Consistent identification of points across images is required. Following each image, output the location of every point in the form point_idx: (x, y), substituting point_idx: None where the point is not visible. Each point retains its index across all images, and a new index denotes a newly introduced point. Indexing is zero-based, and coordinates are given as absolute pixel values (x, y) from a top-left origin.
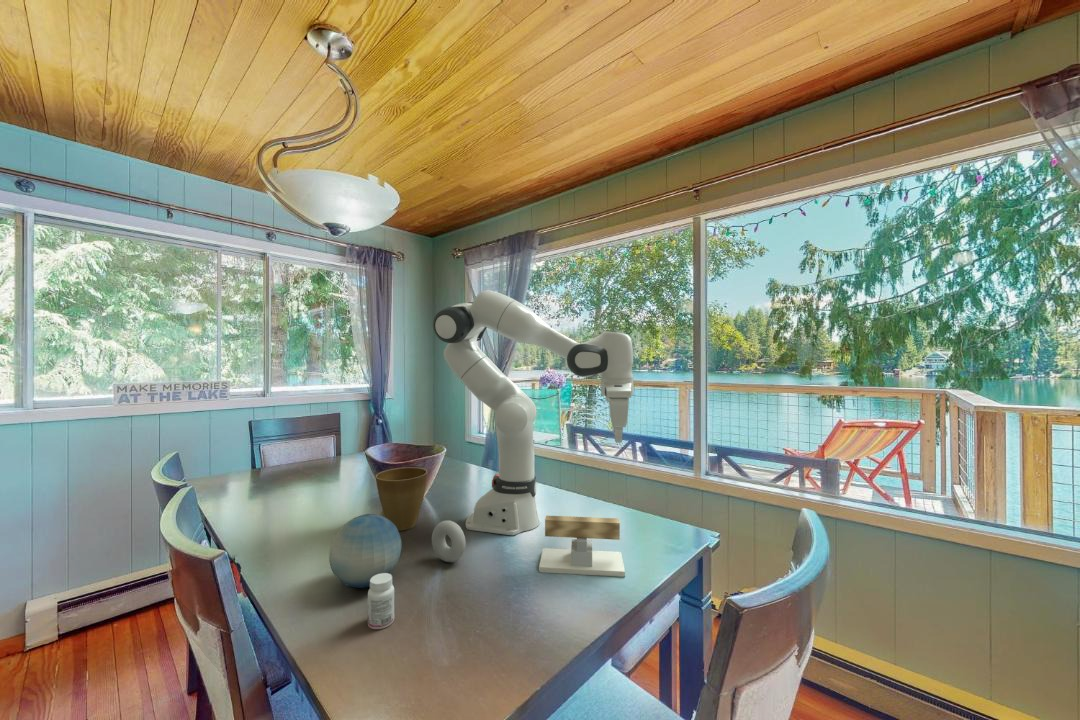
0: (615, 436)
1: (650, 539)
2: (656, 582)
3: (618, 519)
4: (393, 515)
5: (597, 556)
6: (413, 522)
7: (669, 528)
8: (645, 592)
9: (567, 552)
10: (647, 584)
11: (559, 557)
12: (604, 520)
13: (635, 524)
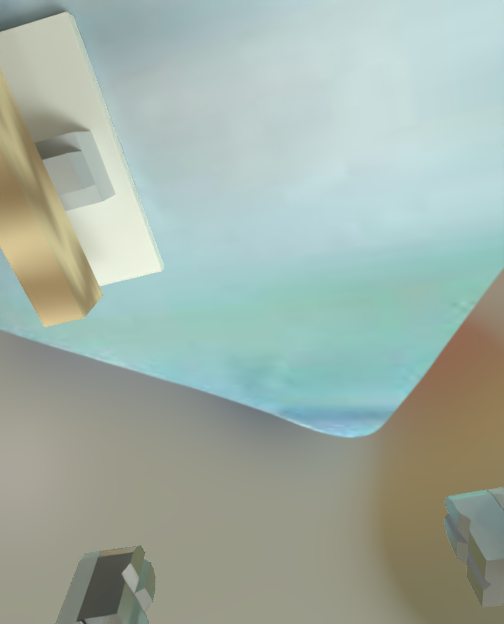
0: (59, 616)
1: (298, 322)
2: (82, 350)
3: (74, 319)
4: None
5: (104, 215)
6: None
7: (385, 359)
8: (29, 335)
9: (82, 117)
10: (63, 335)
11: (36, 100)
12: (36, 277)
13: (397, 274)
